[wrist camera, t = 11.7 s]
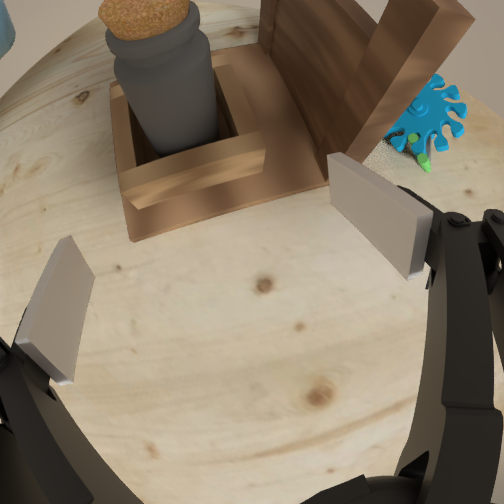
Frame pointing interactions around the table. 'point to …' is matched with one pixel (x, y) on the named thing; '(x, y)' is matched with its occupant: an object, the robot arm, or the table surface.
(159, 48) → the bottle
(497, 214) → the robot arm
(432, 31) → the wooden holder stand
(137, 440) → the table surface
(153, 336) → the table surface
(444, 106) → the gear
